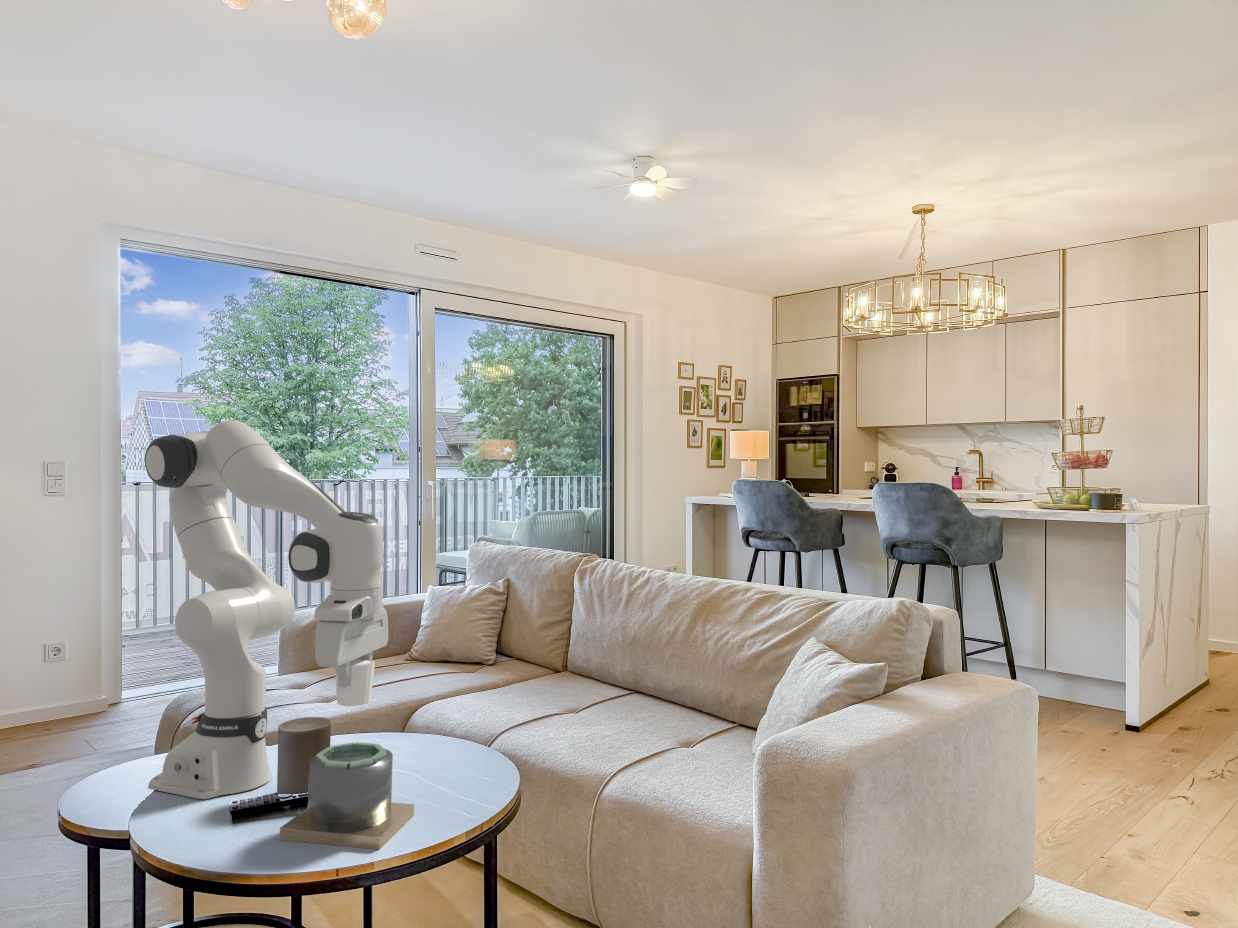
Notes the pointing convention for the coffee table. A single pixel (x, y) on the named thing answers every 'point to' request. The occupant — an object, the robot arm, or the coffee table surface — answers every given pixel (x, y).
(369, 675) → the white cylinder
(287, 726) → the pillar candle
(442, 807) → the coffee table surface
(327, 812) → the green-rimmed dark canister
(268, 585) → the robot arm
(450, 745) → the coffee table surface
